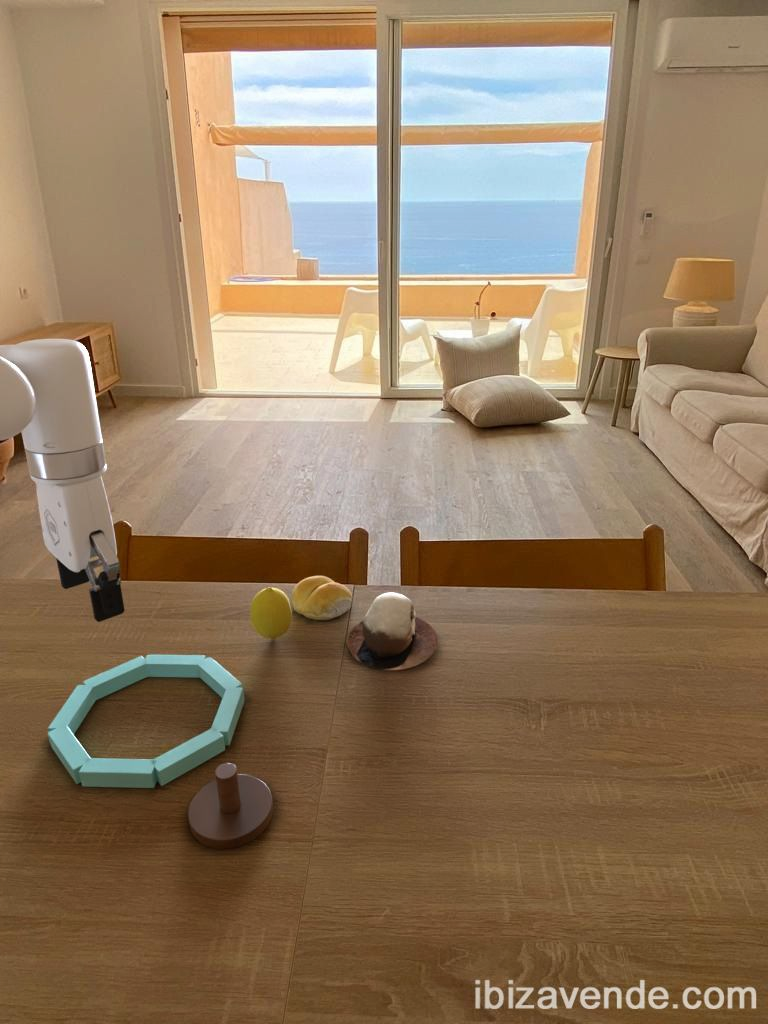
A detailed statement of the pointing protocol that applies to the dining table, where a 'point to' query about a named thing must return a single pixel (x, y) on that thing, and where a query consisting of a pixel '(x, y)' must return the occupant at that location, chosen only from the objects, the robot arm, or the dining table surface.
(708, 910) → the dining table surface
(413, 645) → the iced cupcake on saucer
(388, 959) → the dining table surface
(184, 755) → the ring
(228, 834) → the post
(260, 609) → the lemon
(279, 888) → the dining table surface
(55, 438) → the robot arm
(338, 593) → the bread roll
